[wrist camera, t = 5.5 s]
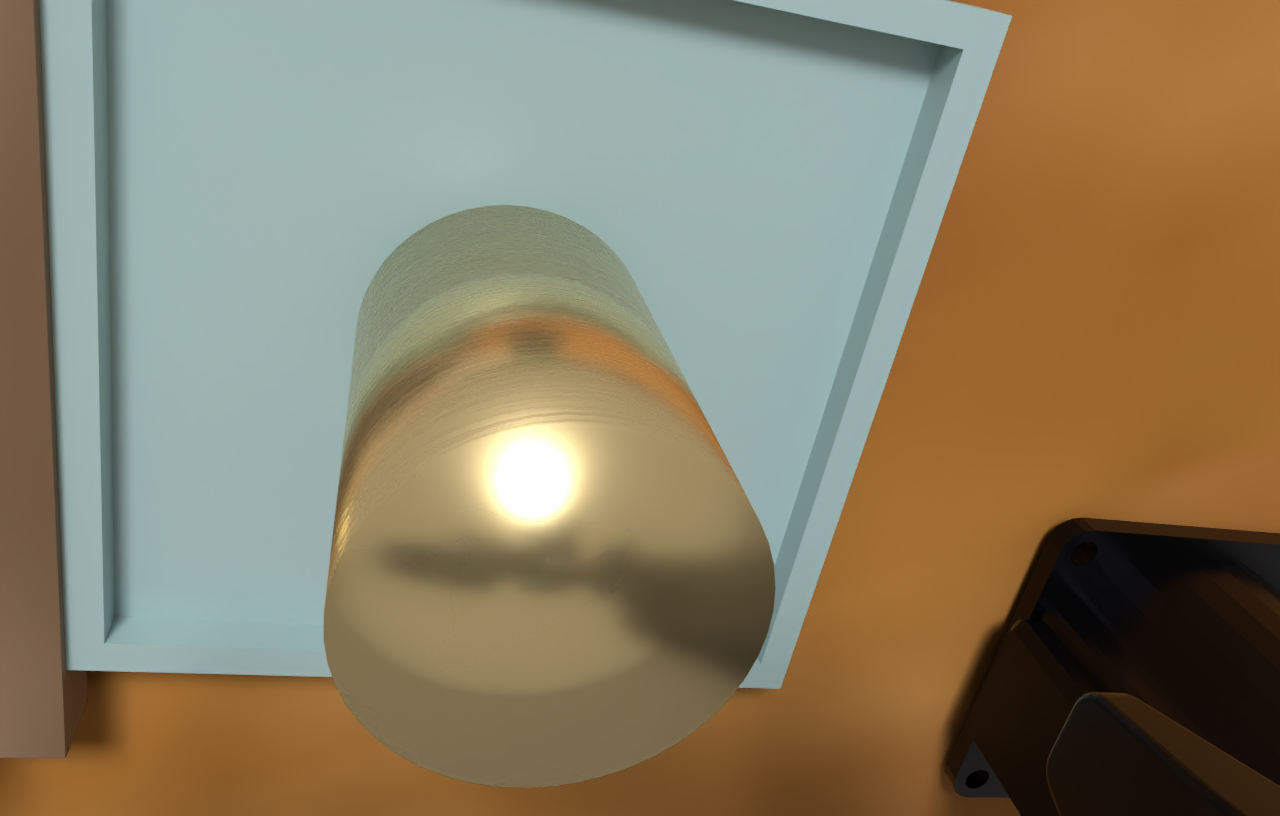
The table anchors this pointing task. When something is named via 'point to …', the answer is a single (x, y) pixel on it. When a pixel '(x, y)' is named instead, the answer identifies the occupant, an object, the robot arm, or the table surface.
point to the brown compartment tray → (29, 421)
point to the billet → (532, 515)
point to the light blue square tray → (425, 192)
